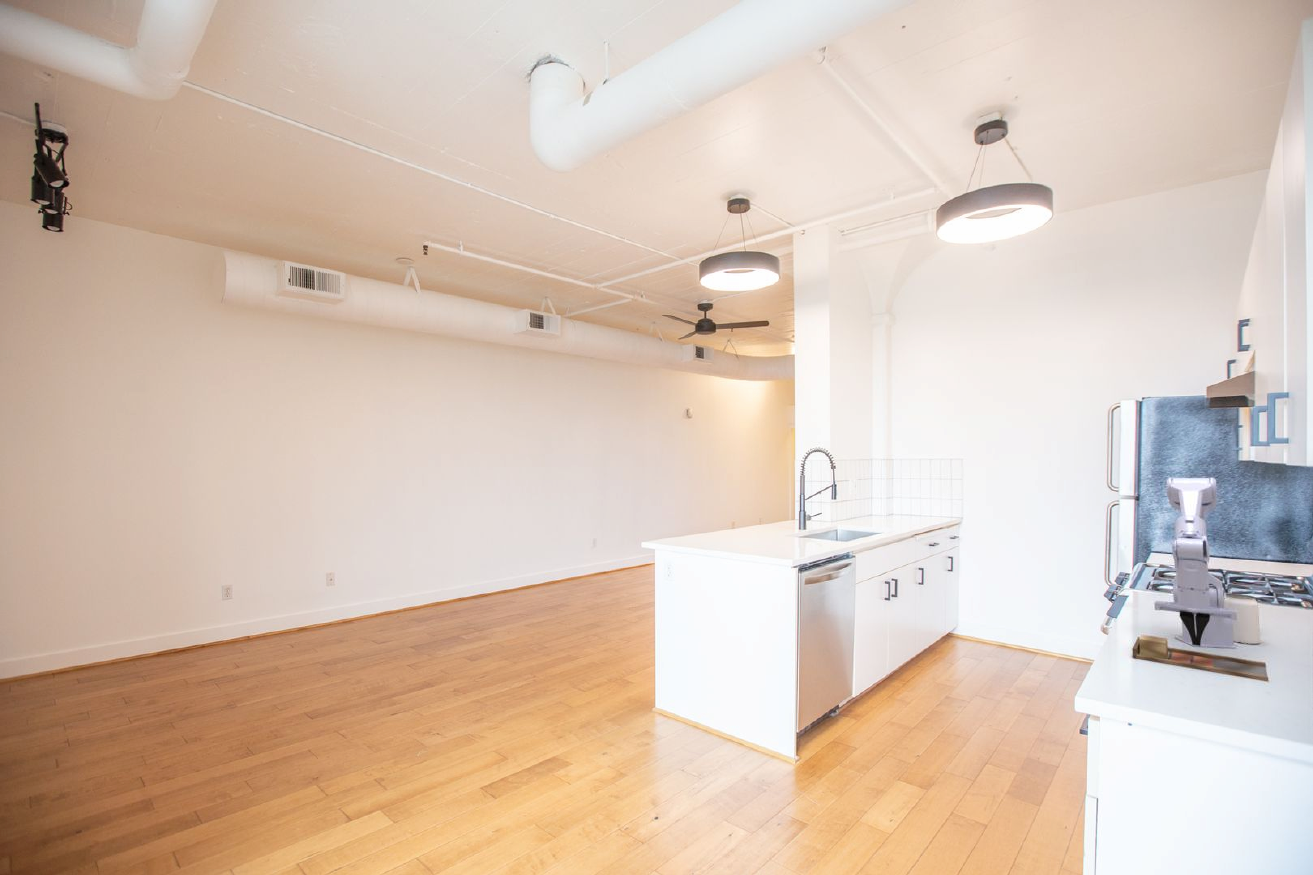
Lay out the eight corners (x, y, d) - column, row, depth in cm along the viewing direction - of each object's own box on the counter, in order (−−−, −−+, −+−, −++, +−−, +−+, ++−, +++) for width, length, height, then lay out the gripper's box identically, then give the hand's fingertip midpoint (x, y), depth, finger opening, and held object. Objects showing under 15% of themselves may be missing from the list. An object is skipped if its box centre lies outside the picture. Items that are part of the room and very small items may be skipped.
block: (1168, 654, 144) (1167, 638, 144) (1166, 659, 141) (1165, 642, 141) (1142, 650, 148) (1141, 634, 148) (1140, 655, 144) (1139, 638, 144)
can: (1267, 645, 150) (1264, 599, 151) (1238, 644, 152) (1235, 598, 152) (1247, 637, 157) (1244, 593, 157) (1220, 637, 158) (1217, 592, 159)
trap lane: (1265, 666, 135) (1264, 656, 135) (1268, 682, 126) (1267, 670, 126) (1138, 646, 151) (1138, 636, 151) (1132, 658, 142) (1132, 648, 142)
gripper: (1152, 586, 142) (1155, 642, 141) (1235, 595, 132) (1239, 655, 131) (1154, 581, 147) (1157, 635, 146) (1235, 589, 137) (1238, 647, 136)
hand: (1196, 644), depth 139 cm, fingers closed
